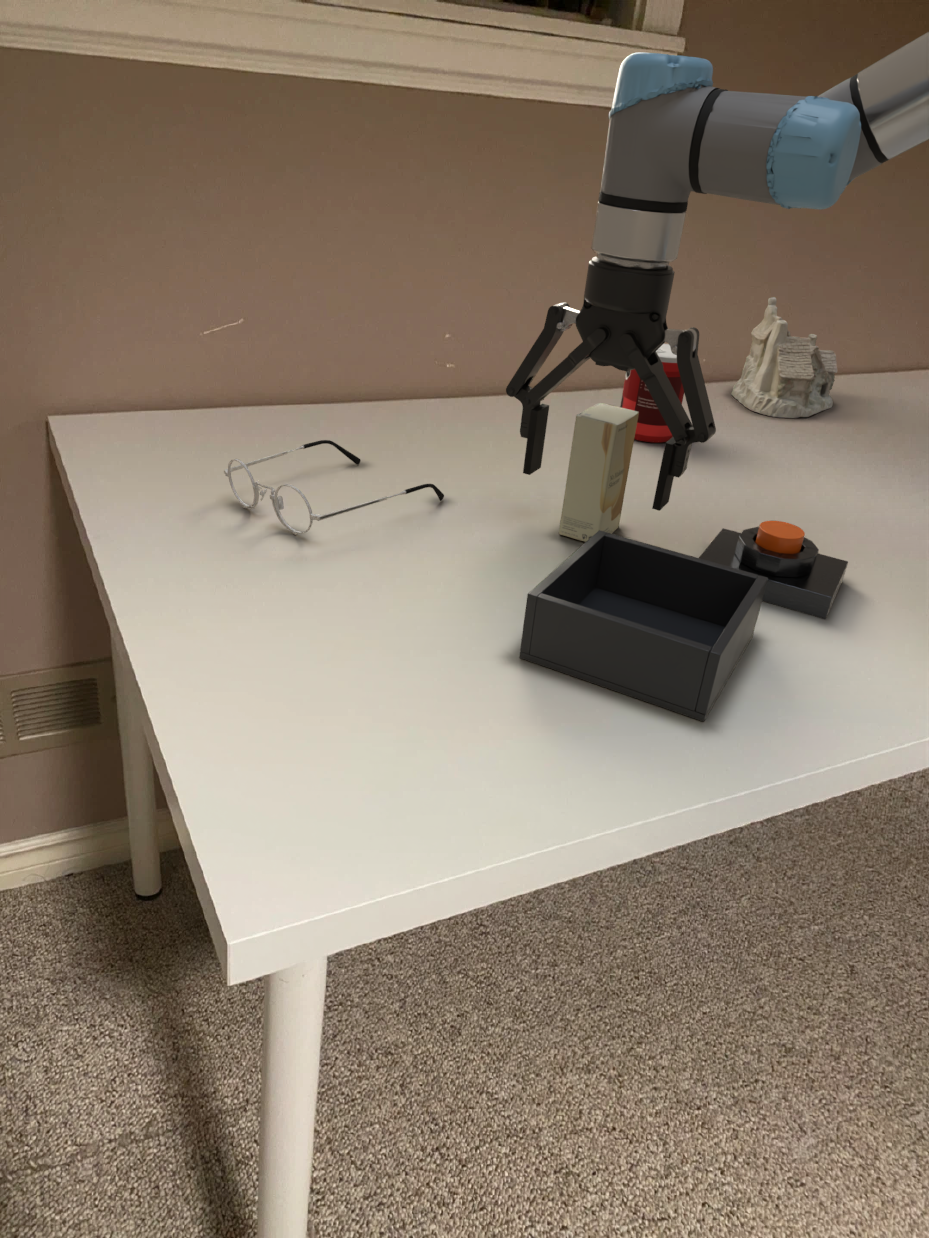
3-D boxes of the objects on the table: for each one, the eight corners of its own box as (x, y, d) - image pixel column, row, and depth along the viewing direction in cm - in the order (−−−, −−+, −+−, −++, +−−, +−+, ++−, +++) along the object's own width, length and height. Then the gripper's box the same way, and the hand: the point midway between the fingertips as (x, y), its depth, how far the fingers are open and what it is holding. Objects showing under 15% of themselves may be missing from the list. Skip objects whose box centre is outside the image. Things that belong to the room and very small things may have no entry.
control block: (842, 582, 89) (854, 543, 87) (825, 619, 82) (838, 579, 80) (717, 548, 94) (726, 510, 92) (692, 581, 87) (701, 541, 85)
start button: (803, 545, 87) (808, 528, 86) (795, 560, 84) (800, 542, 83) (760, 534, 89) (765, 516, 88) (750, 548, 86) (755, 530, 85)
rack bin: (752, 637, 78) (768, 577, 76) (703, 722, 67) (720, 655, 64) (589, 587, 84) (599, 529, 81) (518, 657, 73) (527, 593, 70)
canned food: (644, 421, 130) (658, 339, 124) (688, 439, 124) (705, 354, 119) (603, 428, 125) (617, 344, 120) (647, 446, 120) (663, 359, 115)
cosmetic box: (597, 547, 92) (617, 425, 86) (556, 535, 93) (573, 415, 87) (620, 526, 97) (641, 409, 91) (581, 515, 98) (599, 400, 92)
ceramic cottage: (745, 412, 136) (776, 306, 130) (722, 386, 151) (748, 289, 144) (851, 429, 137) (887, 324, 130) (817, 401, 152) (848, 305, 145)
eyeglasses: (210, 497, 95) (208, 449, 92) (351, 460, 107) (352, 417, 105) (313, 552, 86) (313, 501, 83) (454, 504, 98) (457, 459, 96)
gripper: (785, 279, 81) (728, 508, 91) (522, 234, 90) (498, 447, 100) (765, 290, 75) (707, 534, 85) (486, 241, 84) (465, 466, 95)
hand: (594, 487), depth 93 cm, fingers open, 13 cm apart
